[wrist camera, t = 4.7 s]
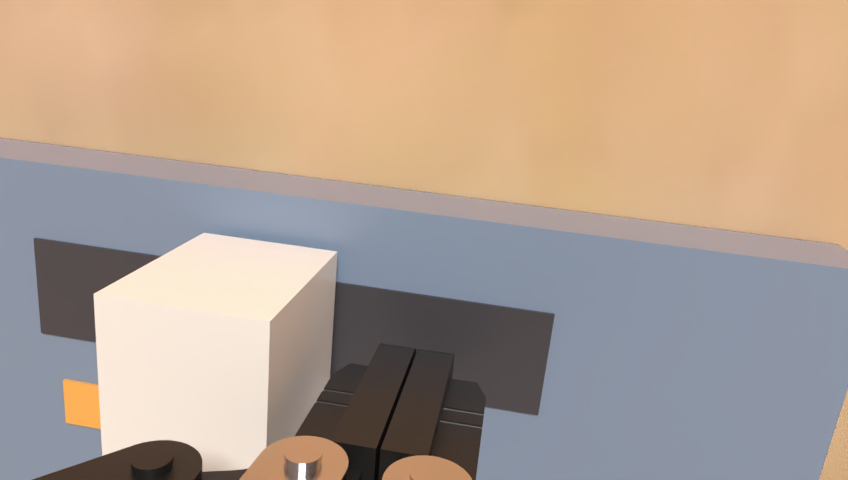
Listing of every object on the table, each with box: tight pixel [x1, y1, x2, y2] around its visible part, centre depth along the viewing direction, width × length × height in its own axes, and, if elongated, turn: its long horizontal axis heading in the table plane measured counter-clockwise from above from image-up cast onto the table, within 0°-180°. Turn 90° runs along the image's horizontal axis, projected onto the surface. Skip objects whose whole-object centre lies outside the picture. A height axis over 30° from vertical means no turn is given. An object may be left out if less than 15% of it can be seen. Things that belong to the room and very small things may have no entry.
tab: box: [94, 233, 338, 472], centre depth 13 cm, size 3×4×4 cm
